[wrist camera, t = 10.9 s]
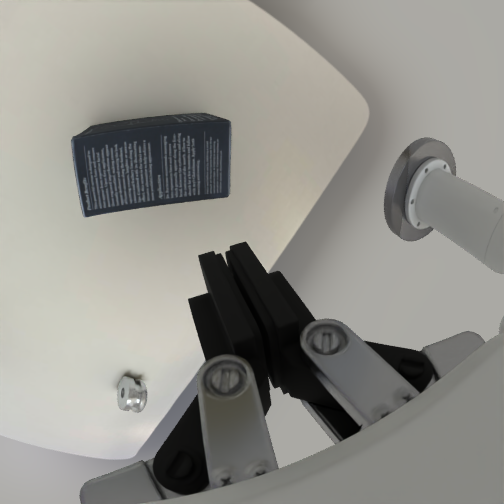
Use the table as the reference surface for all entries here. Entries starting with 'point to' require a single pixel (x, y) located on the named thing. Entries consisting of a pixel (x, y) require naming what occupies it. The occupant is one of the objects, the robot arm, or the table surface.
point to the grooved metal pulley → (131, 394)
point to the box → (152, 162)
